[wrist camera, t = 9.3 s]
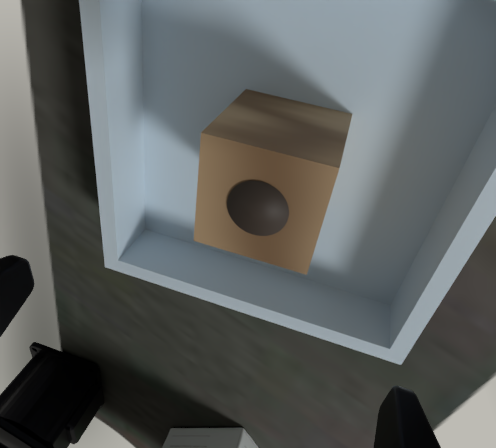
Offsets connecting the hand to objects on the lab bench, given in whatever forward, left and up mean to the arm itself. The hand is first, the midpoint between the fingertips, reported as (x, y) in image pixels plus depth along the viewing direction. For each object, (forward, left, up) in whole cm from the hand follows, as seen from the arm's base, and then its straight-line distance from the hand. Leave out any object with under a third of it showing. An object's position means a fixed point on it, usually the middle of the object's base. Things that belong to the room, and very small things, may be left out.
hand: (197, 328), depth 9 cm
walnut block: (0, 0, -11) cm, 11 cm away
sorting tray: (0, 0, -11) cm, 11 cm away
